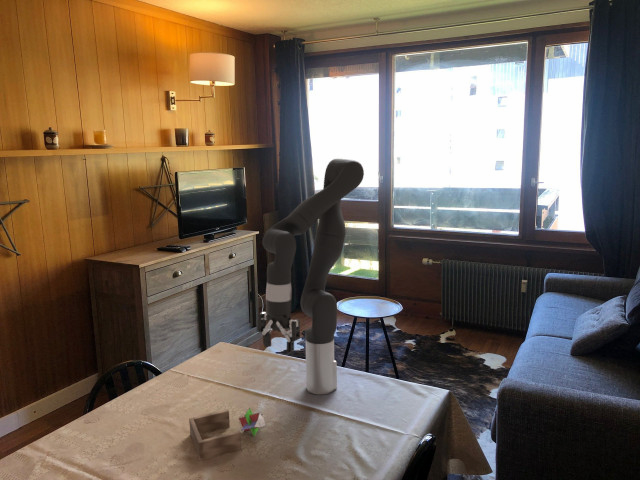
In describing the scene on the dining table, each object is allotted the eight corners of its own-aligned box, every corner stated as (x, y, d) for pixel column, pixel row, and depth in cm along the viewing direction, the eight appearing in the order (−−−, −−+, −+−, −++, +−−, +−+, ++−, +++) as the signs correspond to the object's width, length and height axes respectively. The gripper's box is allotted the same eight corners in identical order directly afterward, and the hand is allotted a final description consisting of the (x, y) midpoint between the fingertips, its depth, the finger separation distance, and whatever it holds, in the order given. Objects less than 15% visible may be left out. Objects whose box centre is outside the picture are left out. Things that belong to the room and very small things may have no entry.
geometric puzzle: (229, 430, 142) (245, 410, 140) (238, 416, 149) (253, 398, 147) (249, 446, 142) (265, 427, 140) (258, 432, 149) (273, 414, 146)
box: (228, 425, 149) (228, 409, 148) (241, 449, 137) (240, 432, 136) (190, 434, 144) (189, 418, 143) (200, 460, 133) (198, 443, 132)
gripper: (305, 298, 151) (305, 351, 154) (268, 290, 159) (268, 340, 162) (290, 304, 145) (289, 359, 148) (252, 295, 153) (252, 348, 156)
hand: (278, 349), depth 155 cm, fingers open, 8 cm apart
